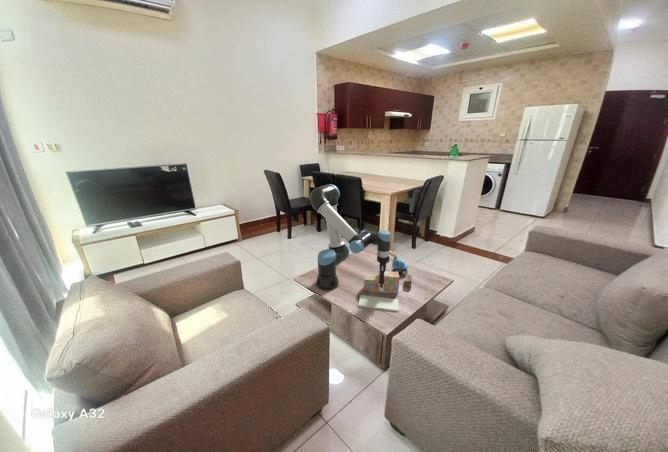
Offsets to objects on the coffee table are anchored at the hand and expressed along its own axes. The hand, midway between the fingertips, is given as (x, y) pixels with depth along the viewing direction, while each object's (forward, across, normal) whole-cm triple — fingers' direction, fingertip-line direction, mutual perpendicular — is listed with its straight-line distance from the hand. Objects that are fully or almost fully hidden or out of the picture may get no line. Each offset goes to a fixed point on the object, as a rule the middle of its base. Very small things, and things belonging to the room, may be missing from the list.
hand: (381, 284), depth 164 cm
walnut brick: (+4, +10, -17) cm, 20 cm away
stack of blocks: (+4, 0, 0) cm, 4 cm away
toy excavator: (+4, +25, -9) cm, 27 cm away
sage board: (+4, -14, +1) cm, 15 cm away
